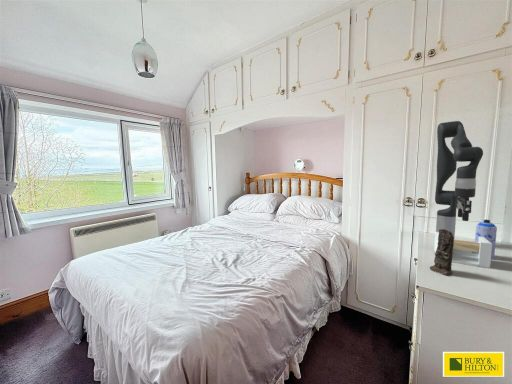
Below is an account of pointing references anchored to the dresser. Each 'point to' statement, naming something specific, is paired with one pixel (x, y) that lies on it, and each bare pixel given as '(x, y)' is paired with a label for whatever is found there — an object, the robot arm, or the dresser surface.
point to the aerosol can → (487, 234)
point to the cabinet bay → (471, 254)
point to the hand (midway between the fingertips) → (462, 218)
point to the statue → (444, 253)
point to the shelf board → (466, 245)
